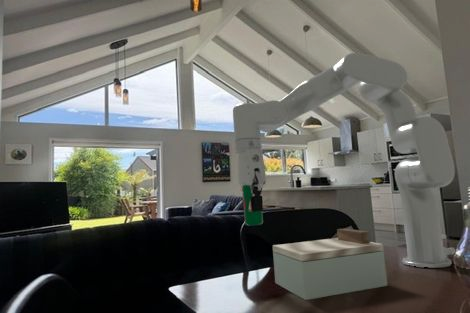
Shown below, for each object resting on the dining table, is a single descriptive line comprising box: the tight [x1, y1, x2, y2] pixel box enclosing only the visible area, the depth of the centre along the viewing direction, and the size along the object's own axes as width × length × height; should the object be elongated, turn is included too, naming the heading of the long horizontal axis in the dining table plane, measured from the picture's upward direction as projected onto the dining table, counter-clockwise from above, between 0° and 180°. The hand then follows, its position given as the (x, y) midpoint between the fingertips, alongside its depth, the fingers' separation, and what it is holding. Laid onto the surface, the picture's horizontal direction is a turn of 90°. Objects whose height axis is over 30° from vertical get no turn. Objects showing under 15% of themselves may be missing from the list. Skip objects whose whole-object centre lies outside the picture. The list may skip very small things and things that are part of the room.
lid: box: [272, 228, 384, 261], centre depth 84 cm, size 22×16×4 cm
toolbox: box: [272, 250, 388, 301], centre depth 84 cm, size 22×16×8 cm
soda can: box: [241, 182, 264, 226], centre depth 93 cm, size 5×5×12 cm
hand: (253, 210), depth 93 cm, fingers closed on soda can, 5 cm apart
